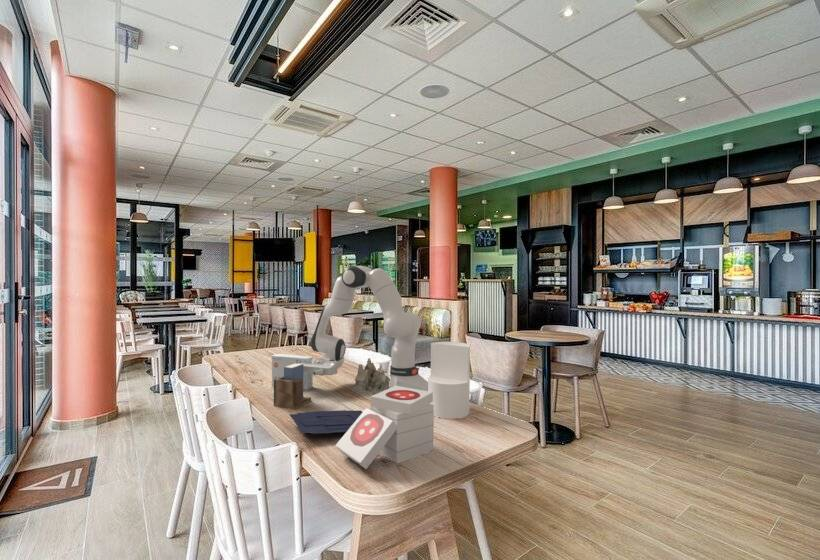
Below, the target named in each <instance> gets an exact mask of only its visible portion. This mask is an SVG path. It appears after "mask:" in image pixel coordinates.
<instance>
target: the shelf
mask: <svg viewBox="0 0 820 560" xmlns="http://www.w3.org/2000/svg"><path fill="white" fill-rule="evenodd" d="M311 401H312V396H311V397H310V396H304V389H303V379H298V380H295V381H290V380H284V377H279V378H277V379H274V386H273V406H274V407H280V408H286V409H293V410H296V409H297V408H299V407H301V406H303V405H305V404H308V403H309V402H311Z"/></svg>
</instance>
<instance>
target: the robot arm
mask: <svg viewBox="0 0 820 560" xmlns="http://www.w3.org/2000/svg"><path fill="white" fill-rule="evenodd" d="M333 285H334V286H333V289H332V292H331V297H330V300H329V302H328V303H326V304H324V306H323V307H322V310H321V312H320V316H319V318H318V321H317V324H316V327H315V330H314V332H313V334H312V336H311V338H310V342H309V344H310V347H311V349H312V350H313V352H316V353H317V352H318V353H322V354H325V355H323V356H320V357H318V358H316V359H314V360H313V362H312V363H310V362H309V363H308V364H307V363H298V364H303V373H312V374H313V376H314V375H315V376H317V375H318V376H333V375H336V374H338V369H340V368H341V367H342V366H343V364H344V362H345V354H346V350H347V349H346V348H347V346H346V343H345V341H344V339H343V338H340V337H337V336H333V335H329V334H327V333H326V330H327V327H328V324H329V322H330V320H331V318H332V317H333V316H339V315H344V314H347V313H348V312H350V311H351V309H352V307H353V303H354V297H355V293H356V290H358V289H364V288H365V289H366V288H369V289H370V290H371V292H372V295H373V296H374V298H375V300H376V302H377V304H378V305H379V308H380V311H381V313H382V317H383V330H384V331H383V332H384V333H385V335H386V336H387V337H389V338H392V339H394V343H393V345H392V347H391V352H390V353H391V354H390V357H391V359H390V360H391V362H390V370H389V375H390V376H389V378H390V381H389V387H390V388H391V387H394V386H400V387H406V388H412V389H418V390H423V391H428V381H427V379H425V378H424V377H422V375H420V374H419V370H420V367H419V366H418V367H417V365H415V359H416V358H415V355H416V351H415V350H416V344H417V340H418V336H419V335H418V334H419V330H420V329H421V326H422V320H421V318H420V316H419V315H418V314H416V313H415V312H414V313H413V312H410V311H408V312H405V310H404V308H403V303H402V296H401V294H400V293H399V290H398V288H397V287H396V285H395V283H394V281H393V280H392V279H391V277H390V275H389V274H388V273H387V271H386V270H384V269H383V268H379V267H378V268H373V267H371V266H363V265H350V266H347V267H346V268H344V269H343V270H342V273H341V276H338V277H337V279H335V283H334V284H333Z"/></svg>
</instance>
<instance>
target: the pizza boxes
mask: <svg viewBox="0 0 820 560" xmlns="http://www.w3.org/2000/svg"><path fill="white" fill-rule="evenodd" d="M431 402H433V392H429V391H423V390H418V389H412V388H406V387H400V386H394V387H391V388H389V389H387V390H385V391H382V392H380V393H375V394H373V395H371V396H370V409H369V408H367V407H366V408H365V409H364V410H363V411H362V412H363V413H362V414H361V415H360V416H359V417H358V419H357V420H356V421H355V422H354V423H353V425H352V426H351V427H350V428H349V430H348V431H347V432H344V434H343V436H342V437H341V438H340V439H339V440H338V441H337V442H336V444H335V447H336V448H337V449H338V450H339V451H340V452H341V453H343V454H344V455H345V456H347V457H348V458H349V459H351V460H352V461H354V462H355V463H356V464H358V465H359V466H361V467H362V468H363V469H365V470H367V469H368V468H369V466H370V465H371V464H372V463H373V461H374V460H375V458H376V457H377V455H379V454H381V455H383V456H384V457H386V458H388V459H389V460H391V461H392V462H394V463H395V464H398V463H402V462H404V461H407V459H408V460H409V459H412V458H416V457H418V455H419V456H421V454H422V455H424V454H427V453H430V452H432V451H431V450H433V451H434V438H435V437H434V434H435V433H434V423H435V422H434V420H435V419H434V405H432V404H430V403H431ZM429 451H430V452H429ZM426 452H427V453H426Z"/></svg>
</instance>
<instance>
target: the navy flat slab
mask: <svg viewBox="0 0 820 560" xmlns="http://www.w3.org/2000/svg"><path fill="white" fill-rule="evenodd" d="M362 413H363V411H362V410H347V409H344V410H319V411H318V410H317V411H316V410H314V411H305V412H297V413H291V414H288V415H289V416H290V418H291V420H292V421H293V422H294V423H295V424H296V426H297V428H298V430H299V431H300V433H301V434H308V433H309V434H311V433H312V434H334V433H346V432H347V431H348V430H349V428H350V427H351V426H352V425H353V423H354V422H355V421H356V420H357V419H358V417H359V416H360V415H361V414H362Z"/></svg>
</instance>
